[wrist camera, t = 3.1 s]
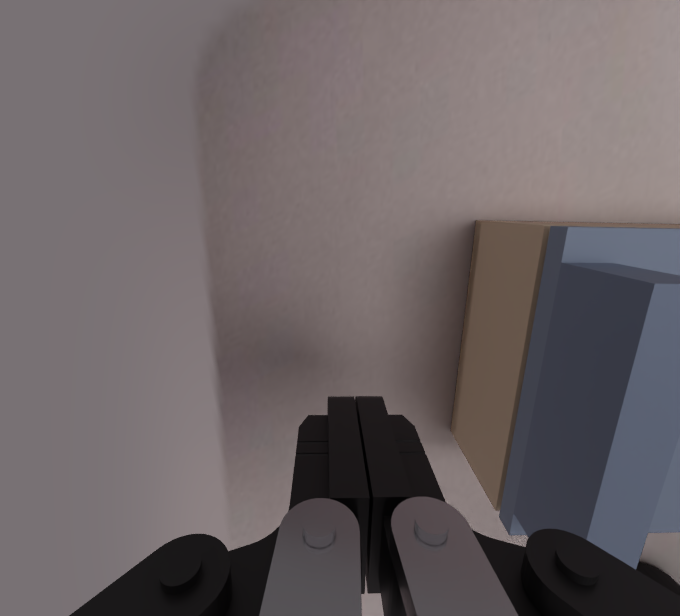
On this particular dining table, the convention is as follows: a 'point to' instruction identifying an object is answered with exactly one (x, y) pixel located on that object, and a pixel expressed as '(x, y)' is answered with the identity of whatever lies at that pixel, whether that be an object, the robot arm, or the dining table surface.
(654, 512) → the lid
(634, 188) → the dining table surface
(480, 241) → the box
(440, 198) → the dining table surface
